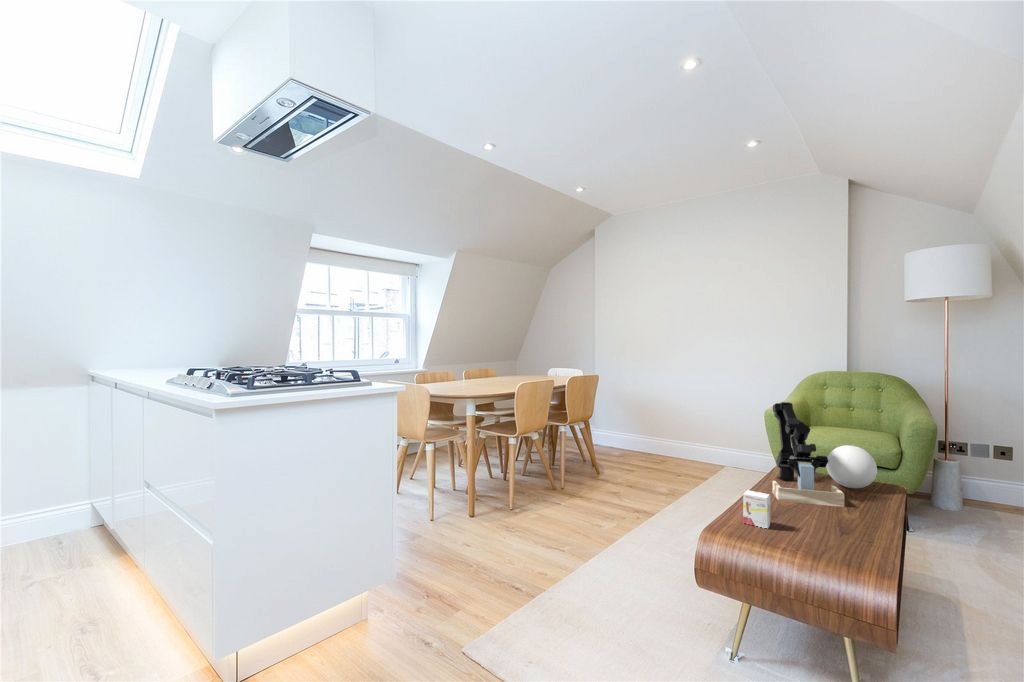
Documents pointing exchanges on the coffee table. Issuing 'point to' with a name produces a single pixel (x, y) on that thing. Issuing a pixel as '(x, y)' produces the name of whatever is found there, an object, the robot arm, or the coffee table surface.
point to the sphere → (851, 466)
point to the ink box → (756, 509)
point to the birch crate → (809, 496)
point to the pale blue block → (806, 477)
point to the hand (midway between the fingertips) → (806, 477)
